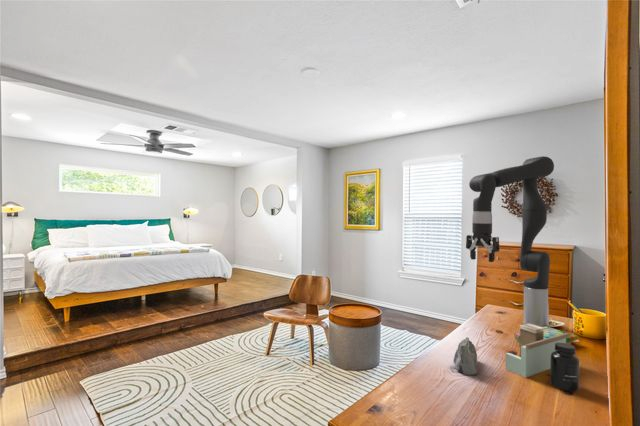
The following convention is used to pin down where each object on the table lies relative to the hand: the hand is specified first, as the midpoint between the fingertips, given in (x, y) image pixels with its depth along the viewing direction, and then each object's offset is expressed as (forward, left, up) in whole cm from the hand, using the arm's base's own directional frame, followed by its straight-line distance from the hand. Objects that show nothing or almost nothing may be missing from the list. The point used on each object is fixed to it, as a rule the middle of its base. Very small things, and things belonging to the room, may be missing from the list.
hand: (481, 260), depth 143 cm
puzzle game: (-10, +20, -31) cm, 38 cm away
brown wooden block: (+12, +28, -30) cm, 43 cm away
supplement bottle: (+18, +41, -30) cm, 54 cm away
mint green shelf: (+12, +29, -30) cm, 44 cm away
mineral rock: (+32, +20, -30) cm, 49 cm away
